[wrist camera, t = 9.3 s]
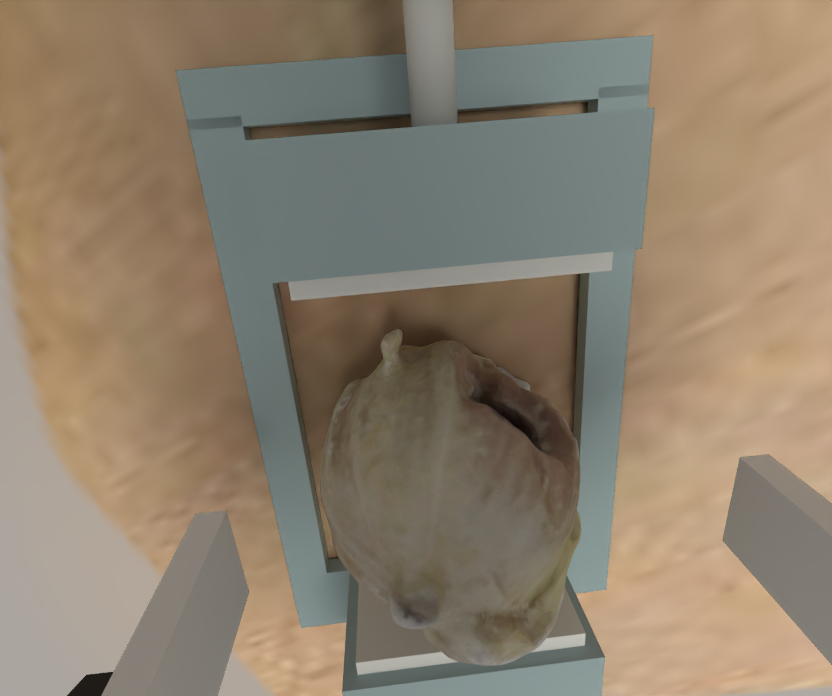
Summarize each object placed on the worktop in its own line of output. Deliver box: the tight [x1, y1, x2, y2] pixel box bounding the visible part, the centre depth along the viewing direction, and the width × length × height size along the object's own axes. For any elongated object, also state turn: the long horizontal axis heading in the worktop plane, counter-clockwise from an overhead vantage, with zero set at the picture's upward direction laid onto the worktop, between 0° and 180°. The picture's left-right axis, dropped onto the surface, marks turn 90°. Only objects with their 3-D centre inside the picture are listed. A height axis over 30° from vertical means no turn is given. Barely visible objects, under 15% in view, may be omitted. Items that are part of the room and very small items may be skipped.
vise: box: [176, 35, 653, 696], centre depth 16 cm, size 22×14×6 cm, turn 5°
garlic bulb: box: [320, 329, 582, 666], centre depth 16 cm, size 9×8×10 cm
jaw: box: [237, 0, 654, 301], centre depth 12 cm, size 9×9×6 cm
